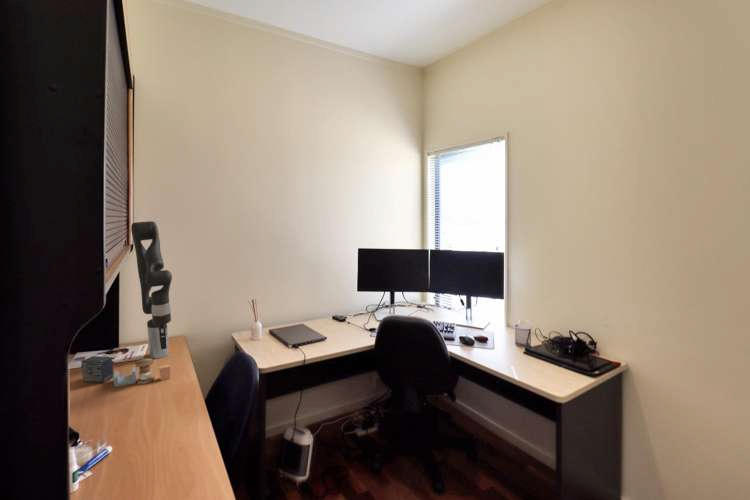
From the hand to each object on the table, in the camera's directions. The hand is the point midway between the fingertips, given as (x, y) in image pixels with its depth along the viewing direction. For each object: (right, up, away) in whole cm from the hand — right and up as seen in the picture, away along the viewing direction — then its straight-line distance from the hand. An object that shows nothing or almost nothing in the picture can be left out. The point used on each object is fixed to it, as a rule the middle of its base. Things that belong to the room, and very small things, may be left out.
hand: (163, 345), depth 170 cm
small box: (-31, -17, +1) cm, 35 cm away
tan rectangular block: (0, -16, +2) cm, 17 cm away
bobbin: (-8, -17, 0) cm, 18 cm away
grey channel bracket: (-17, -17, -1) cm, 24 cm away
